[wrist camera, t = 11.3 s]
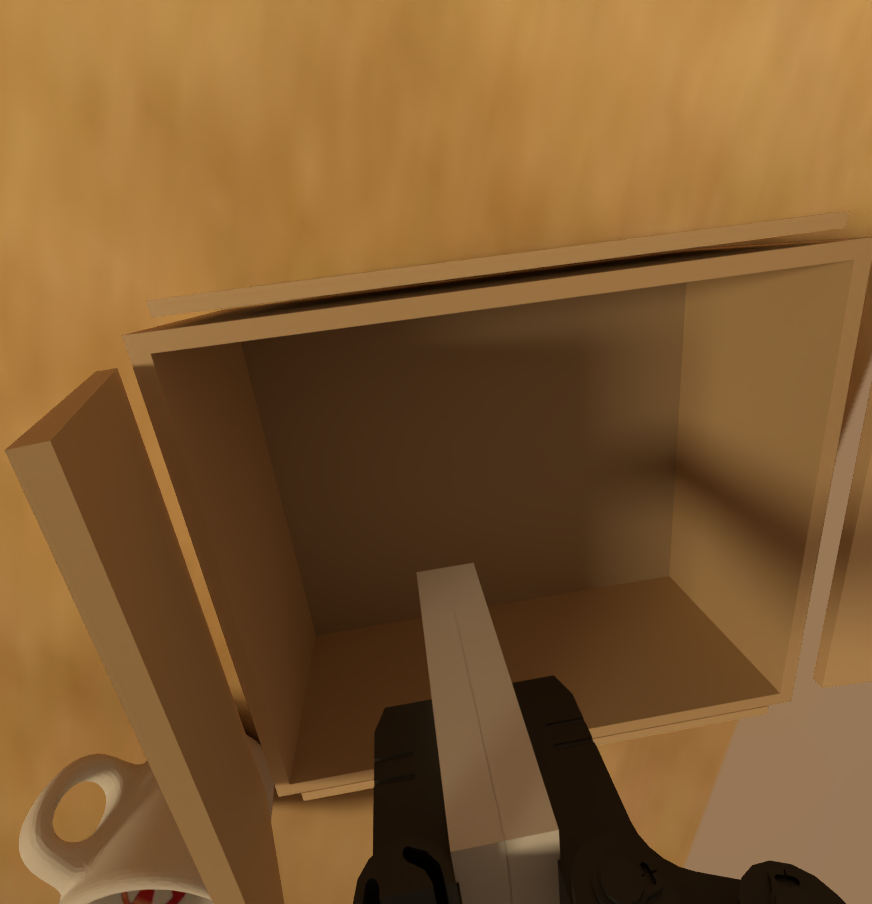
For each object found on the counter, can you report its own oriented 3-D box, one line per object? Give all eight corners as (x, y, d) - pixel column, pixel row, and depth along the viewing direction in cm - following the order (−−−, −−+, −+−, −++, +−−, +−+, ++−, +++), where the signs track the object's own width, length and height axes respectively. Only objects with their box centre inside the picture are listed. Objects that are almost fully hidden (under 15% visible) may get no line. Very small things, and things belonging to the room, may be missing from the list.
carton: (217, 290, 19) (111, 304, 11) (694, 230, 20) (881, 206, 12) (312, 649, 25) (283, 810, 18) (671, 588, 26) (788, 715, 19)
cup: (56, 752, 26) (-78, 951, 18) (141, 654, 24) (35, 826, 17) (234, 830, 29) (184, 1025, 21) (320, 747, 27) (297, 926, 20)
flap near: (95, 371, 11) (4, 450, 6) (117, 368, 12) (50, 440, 6) (252, 798, 17) (289, 1068, 11) (266, 791, 17) (309, 1055, 11)
